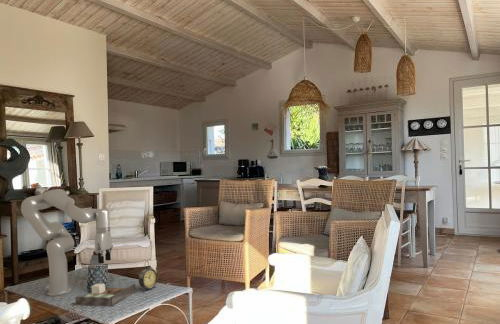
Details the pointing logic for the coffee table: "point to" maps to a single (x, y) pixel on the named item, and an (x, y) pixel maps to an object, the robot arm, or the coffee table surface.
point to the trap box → (106, 296)
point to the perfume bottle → (94, 259)
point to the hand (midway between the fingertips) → (104, 261)
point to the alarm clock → (147, 278)
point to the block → (98, 288)
